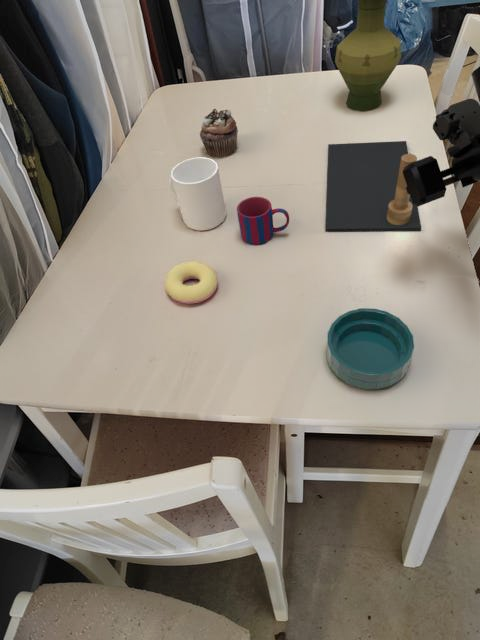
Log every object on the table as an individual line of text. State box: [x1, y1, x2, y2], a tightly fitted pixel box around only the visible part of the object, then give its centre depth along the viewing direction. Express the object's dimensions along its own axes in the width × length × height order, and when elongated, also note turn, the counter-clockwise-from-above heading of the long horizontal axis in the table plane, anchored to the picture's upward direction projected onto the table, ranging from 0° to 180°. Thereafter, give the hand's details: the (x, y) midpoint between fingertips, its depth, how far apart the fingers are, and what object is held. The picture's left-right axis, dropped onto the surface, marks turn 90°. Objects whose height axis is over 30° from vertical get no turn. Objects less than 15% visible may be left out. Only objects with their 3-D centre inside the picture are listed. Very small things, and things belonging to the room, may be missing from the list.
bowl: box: [326, 307, 415, 390], centre depth 67 cm, size 12×12×4 cm
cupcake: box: [199, 108, 239, 159], centre depth 110 cm, size 10×10×10 cm
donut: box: [164, 260, 219, 305], centre depth 82 cm, size 10×5×9 cm
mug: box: [169, 156, 227, 231], centre depth 92 cm, size 10×12×12 cm
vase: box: [334, 0, 402, 112], centre depth 109 cm, size 16×16×30 cm
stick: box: [387, 153, 418, 225], centre depth 82 cm, size 4×4×13 cm
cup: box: [236, 196, 290, 246], centre depth 87 cm, size 7×10×7 cm
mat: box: [324, 140, 422, 233], centre depth 96 cm, size 18×32×1 cm, turn 172°
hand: (431, 181), depth 74 cm, fingers open, 9 cm apart
